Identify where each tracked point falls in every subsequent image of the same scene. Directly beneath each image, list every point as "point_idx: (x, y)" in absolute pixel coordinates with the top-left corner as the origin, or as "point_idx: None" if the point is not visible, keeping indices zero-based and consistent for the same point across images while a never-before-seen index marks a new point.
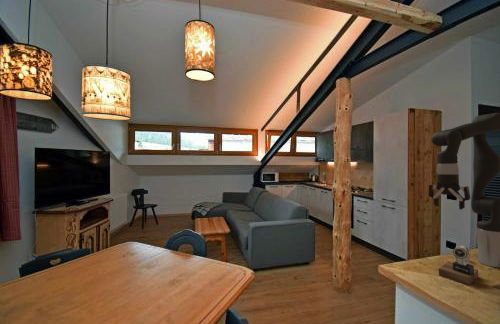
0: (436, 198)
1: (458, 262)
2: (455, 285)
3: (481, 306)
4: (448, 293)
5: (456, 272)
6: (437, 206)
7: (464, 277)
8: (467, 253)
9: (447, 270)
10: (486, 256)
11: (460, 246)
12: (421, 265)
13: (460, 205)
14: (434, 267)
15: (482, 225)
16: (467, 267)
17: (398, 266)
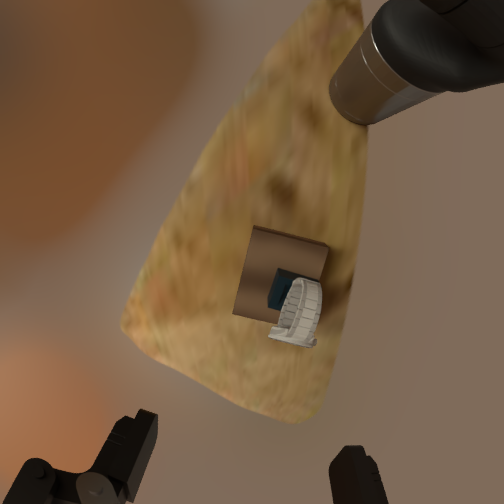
0: (122, 500)
1: (283, 323)
2: (271, 339)
3: (309, 391)
4: (259, 382)
5: (275, 311)
6: (156, 435)
7: None
8: (312, 346)
9: (254, 312)
10: (360, 113)
11: (296, 332)
12: (185, 262)
13: (341, 496)
14: (218, 252)
15: (409, 67)
16: (304, 317)
17: (142, 313)
